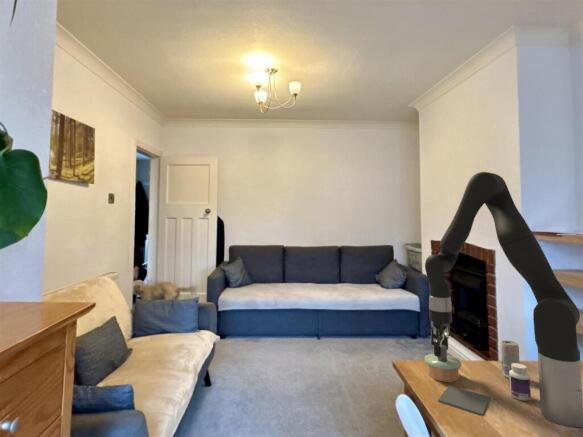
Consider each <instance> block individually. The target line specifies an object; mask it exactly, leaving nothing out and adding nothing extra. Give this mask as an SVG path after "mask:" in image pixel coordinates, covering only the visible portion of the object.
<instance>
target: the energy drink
mask: <svg viewBox="0 0 583 437" xmlns="http://www.w3.org/2000/svg"><path fill="white" fill-rule="evenodd" d="M500 354H501V355H500V356H501V358H500V359H501V375H502V376H503V377H504V378H506V379H509V371H510V370H512V369H511V364H512V363H518V364H521V361H520V347H519V344H518V343H517V342H516V341H512V340H501V343H500Z"/></svg>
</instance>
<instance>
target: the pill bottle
mask: <svg viewBox="0 0 583 437" xmlns="http://www.w3.org/2000/svg"><path fill="white" fill-rule="evenodd" d="M511 369H512V370H510V371H509V381H508V382H509V394H510V396H511V397H513V398H514V399H515V400H519V401H522V402H523V401H525V402H526V401H530V400H531V398H532V393H531V376H530V374H529V373H527V372H528V368H527V365H525V364H522V363H520V364H518V363H512V364H511Z"/></svg>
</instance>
